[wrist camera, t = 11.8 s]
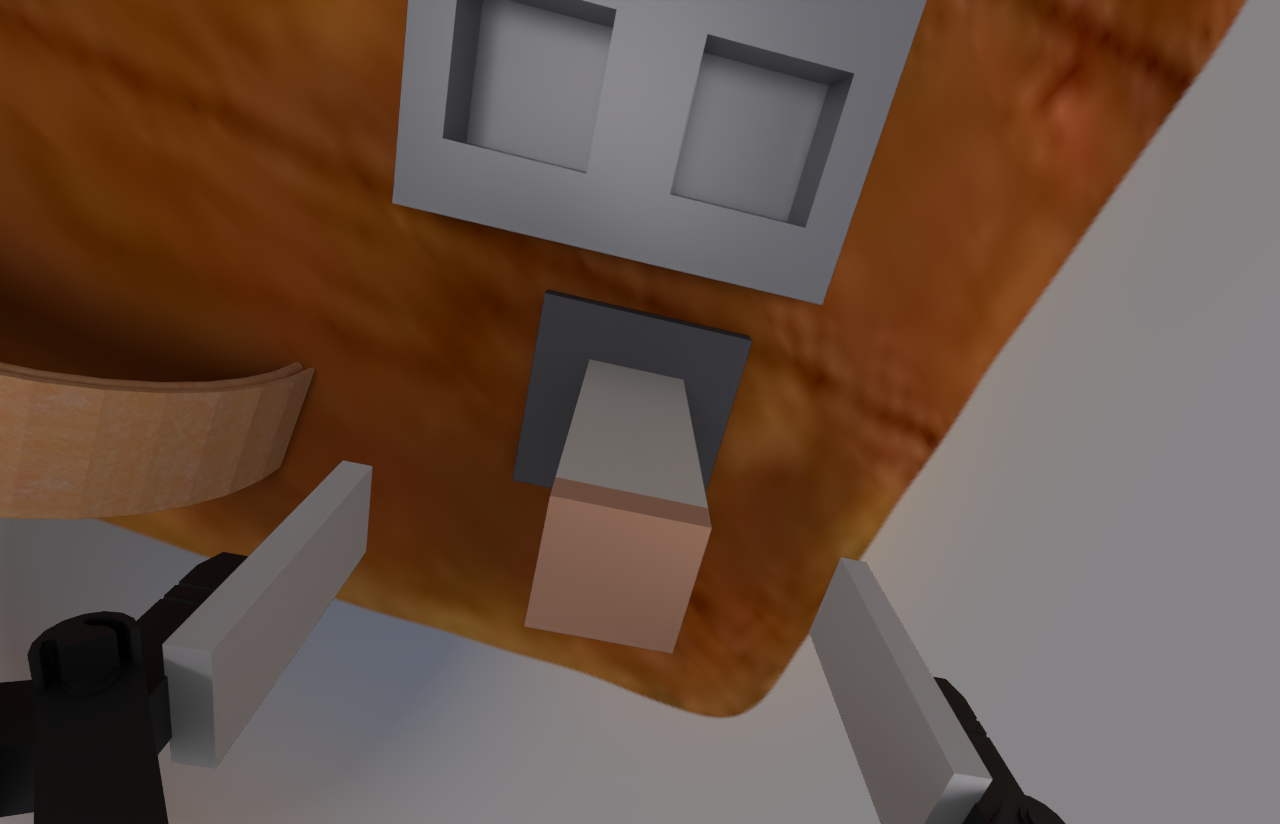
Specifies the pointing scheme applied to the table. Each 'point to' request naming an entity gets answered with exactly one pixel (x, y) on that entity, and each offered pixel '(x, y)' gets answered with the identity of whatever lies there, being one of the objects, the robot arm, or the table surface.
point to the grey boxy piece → (654, 126)
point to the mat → (630, 342)
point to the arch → (138, 440)
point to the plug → (623, 514)
